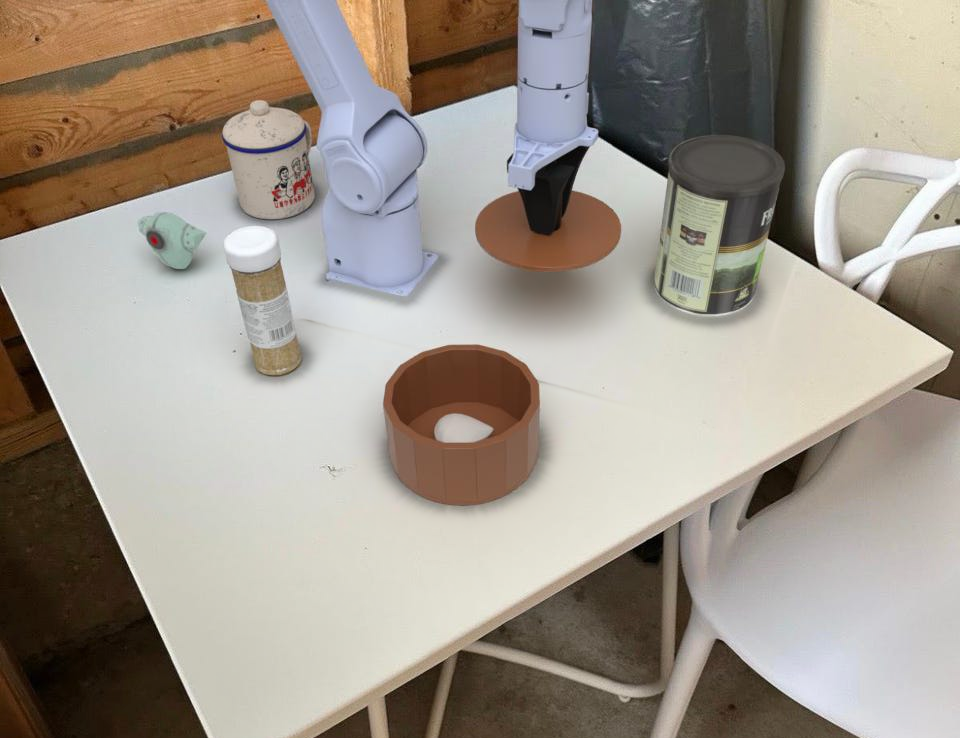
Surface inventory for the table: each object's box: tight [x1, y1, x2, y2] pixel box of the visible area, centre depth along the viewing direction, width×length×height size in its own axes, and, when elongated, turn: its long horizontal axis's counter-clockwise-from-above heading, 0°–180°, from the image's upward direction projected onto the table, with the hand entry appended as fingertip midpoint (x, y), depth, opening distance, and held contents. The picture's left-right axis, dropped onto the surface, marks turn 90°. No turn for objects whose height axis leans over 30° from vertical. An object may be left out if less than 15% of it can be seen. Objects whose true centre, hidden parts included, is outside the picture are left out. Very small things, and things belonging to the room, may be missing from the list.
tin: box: [382, 343, 541, 506], centre depth 76 cm, size 12×12×6 cm
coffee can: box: [653, 134, 786, 317], centre depth 89 cm, size 10×10×14 cm
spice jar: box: [222, 225, 303, 376], centre depth 82 cm, size 5×5×13 cm
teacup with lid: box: [221, 99, 316, 220], centre depth 104 cm, size 12×9×12 cm
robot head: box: [137, 211, 207, 270], centre depth 96 cm, size 8×4×7 cm, turn 65°
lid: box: [474, 189, 622, 273], centre depth 84 cm, size 13×13×4 cm
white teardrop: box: [434, 413, 493, 443], centre depth 77 cm, size 4×5×2 cm
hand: (547, 222), depth 85 cm, fingers closed on lid, 2 cm apart
